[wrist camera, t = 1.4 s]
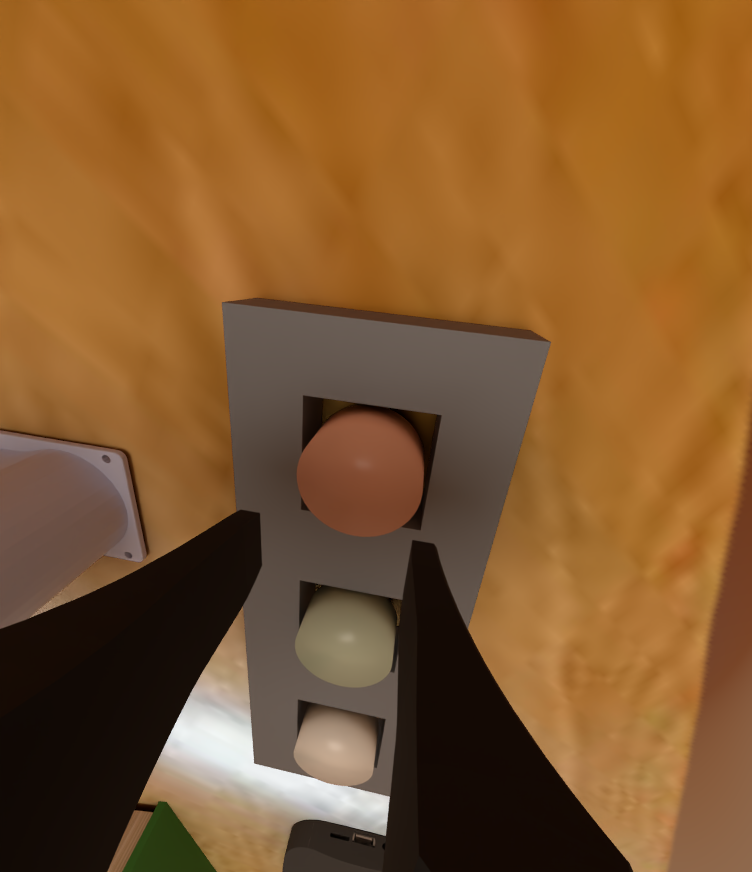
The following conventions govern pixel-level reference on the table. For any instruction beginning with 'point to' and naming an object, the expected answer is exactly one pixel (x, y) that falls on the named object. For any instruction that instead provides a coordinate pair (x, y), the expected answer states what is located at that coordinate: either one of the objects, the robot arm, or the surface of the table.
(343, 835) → the media streaming box
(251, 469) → the button panel
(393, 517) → the terracotta button
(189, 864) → the hardback book
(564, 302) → the table surface
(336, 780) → the cream button
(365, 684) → the sage button
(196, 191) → the table surface
